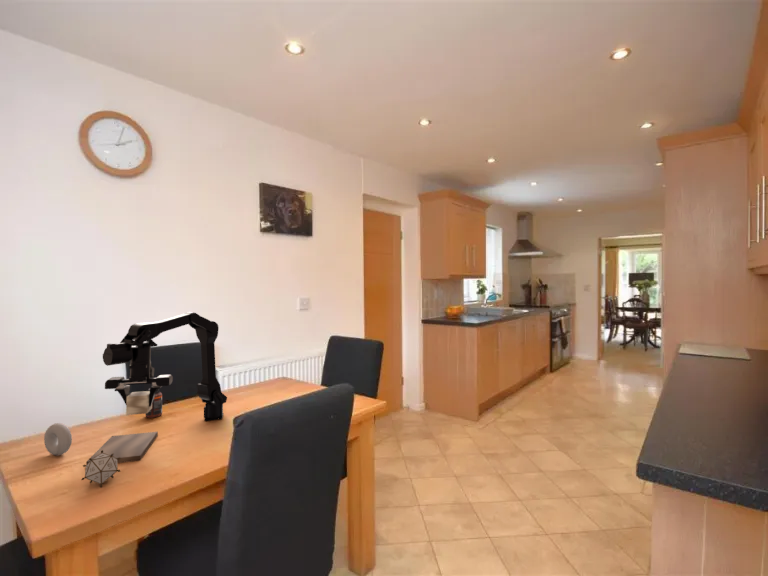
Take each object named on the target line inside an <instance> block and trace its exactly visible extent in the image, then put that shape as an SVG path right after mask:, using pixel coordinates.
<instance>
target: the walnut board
mask: <svg viewBox="0 0 768 576" xmlns="http://www.w3.org/2000/svg"><path fill="white" fill-rule="evenodd" d="M158 435H159V432H158V431H150V432H149V431H148V432H140V433H139V432H138V433H129V434H120V435H112V436H111V437H109V438H108V439H107V440H106V441H105V443H103V445H101V446H100V448H98V449H97V450H96V451H95V452H94V454H93V455H91V456H90V458H91V459H93V458H95V457H96V456H98V455H99V454H101V451H102V450H103V453H105V454H108V455H111V454H114V455H113V457H115V458H117V459H118V458H119V457H121V458H120V459H119V460H118V464H119V463H121V464H122V463H128V462H135V461H136V462H138V461H141V460H142V459H143V458H144V456H145V455H146V453H147V451H148V450H150V447H152V444H153V443H154V442H155V440H156V439H157V438H158ZM89 462H90V460H89V459H87V460H86V462H85V465H87V464H88V463H89Z"/></svg>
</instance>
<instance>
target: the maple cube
mask: <svg viewBox="0 0 768 576" xmlns="http://www.w3.org/2000/svg"><path fill="white" fill-rule="evenodd" d="M149 395H150V391H148V390H146V391H144V390H142V391H132V392H130V395H128V396H127V401H126V404H125V406H126V409H125V413H126V416H130V415H141V414H143V415H144V414H145V415H146V413H148V412H149V411H150V410H151V409H152V405H151V406H150V407H149Z"/></svg>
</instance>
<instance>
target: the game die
mask: <svg viewBox="0 0 768 576" xmlns="http://www.w3.org/2000/svg"><path fill="white" fill-rule="evenodd" d="M113 455H114V454H111V455H108V454H105V453H103V450H102V451H101V454H99V455H98V456H96V457H95V458H93V459H91V457H89V458H88V460H90V462H89V463H88V464H87V465H86V464H83V465H82V467H83V468H85V471H84V477H82V478H81V479H80V480H81V481H84V480H88V481H89V484H91V483H93V482H94V483H97V484H99V487H100V488H102V487H103V484H105V482H107V481H108V480H109V479H114V478H115V476H114V475H115V474H116V473H117V472H121V470H120V469H118V466H119V465H118V464H119V463H118V460H119V459H120V458H121V457H119V458H118V459H117V458H115V457H113Z"/></svg>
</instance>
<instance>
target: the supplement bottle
mask: <svg viewBox="0 0 768 576" xmlns="http://www.w3.org/2000/svg"><path fill="white" fill-rule="evenodd" d="M150 388H151V387H149V388H148V390H147V391H150ZM162 414H163V393H162V392H161V391H160V389H158V391H157V393H156V395H155V397H154V400H153V403H152V409H151V410H150V411H149V412H148V413H146V414H145V417H146V418H149V419H151V418H157V417H160V416H161V415H162Z"/></svg>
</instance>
